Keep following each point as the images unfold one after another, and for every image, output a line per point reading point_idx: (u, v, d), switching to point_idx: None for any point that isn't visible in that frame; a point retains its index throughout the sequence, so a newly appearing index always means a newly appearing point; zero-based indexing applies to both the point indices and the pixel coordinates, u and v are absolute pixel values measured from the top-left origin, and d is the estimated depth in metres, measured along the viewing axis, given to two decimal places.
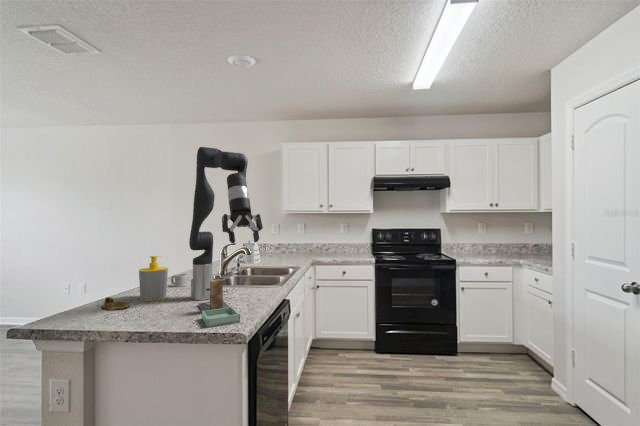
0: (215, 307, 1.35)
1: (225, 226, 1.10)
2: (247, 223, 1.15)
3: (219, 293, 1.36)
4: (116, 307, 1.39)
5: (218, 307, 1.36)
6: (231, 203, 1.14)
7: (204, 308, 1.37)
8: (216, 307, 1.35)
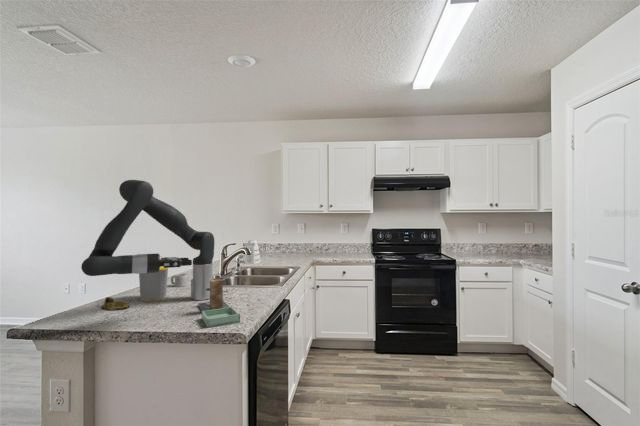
0: (215, 307, 1.35)
1: None
2: None
3: (219, 293, 1.36)
4: (116, 307, 1.39)
5: (218, 307, 1.36)
6: None
7: (204, 308, 1.37)
8: (216, 307, 1.35)
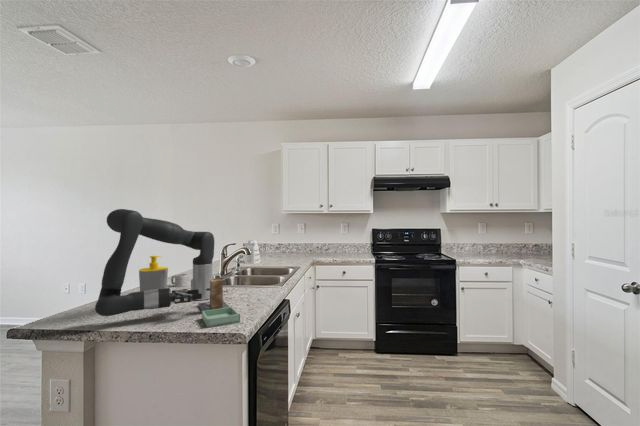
0: (215, 307, 1.35)
1: None
2: None
3: (219, 293, 1.36)
4: None
5: (218, 307, 1.36)
6: None
7: (204, 308, 1.37)
8: (216, 307, 1.35)
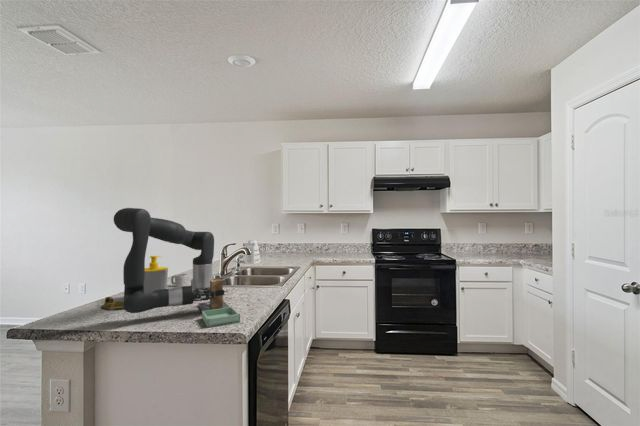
0: (215, 307, 1.35)
1: None
2: None
3: None
4: (116, 307, 1.39)
5: (218, 307, 1.36)
6: None
7: (204, 308, 1.37)
8: (216, 307, 1.35)
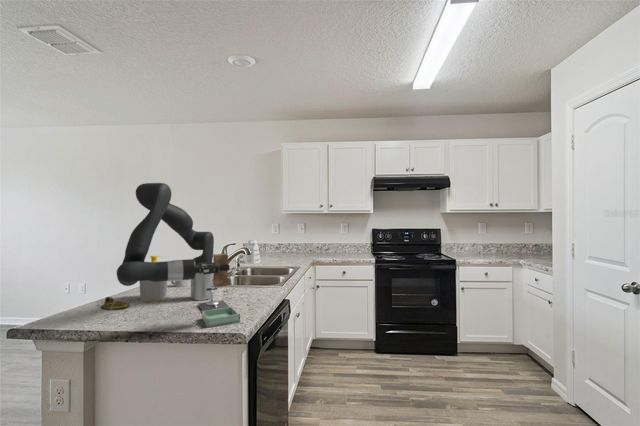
0: (219, 283, 1.22)
1: None
2: None
3: None
4: (115, 307, 1.40)
5: (222, 284, 1.22)
6: None
7: (204, 308, 1.37)
8: (220, 284, 1.22)
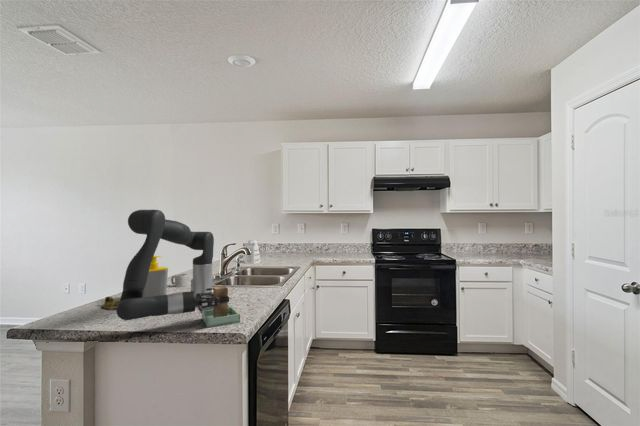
0: None
1: None
2: None
3: None
4: (115, 307, 1.40)
5: None
6: None
7: (204, 308, 1.37)
8: None
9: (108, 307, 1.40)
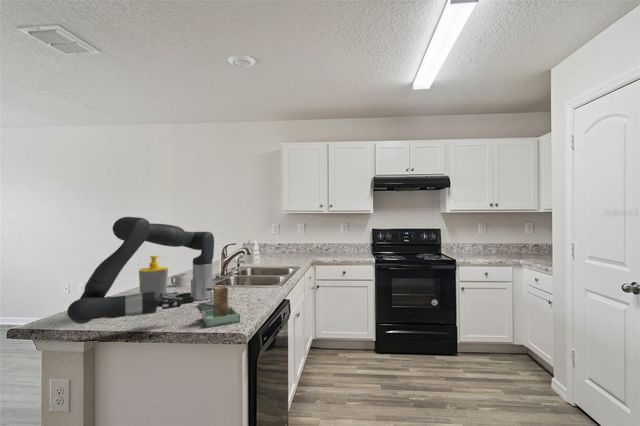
0: None
1: None
2: None
3: (223, 302, 1.23)
4: None
5: None
6: None
7: (204, 308, 1.37)
8: None
9: None
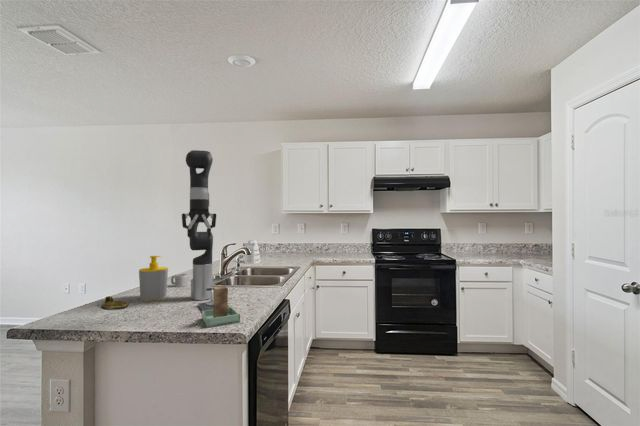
0: None
1: (184, 224, 1.31)
2: (203, 221, 1.34)
3: (223, 302, 1.23)
4: (115, 306, 1.40)
5: None
6: (190, 202, 1.32)
7: (204, 308, 1.37)
8: None
9: (108, 307, 1.40)
